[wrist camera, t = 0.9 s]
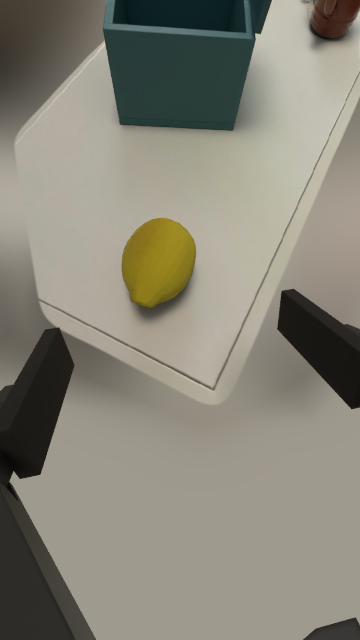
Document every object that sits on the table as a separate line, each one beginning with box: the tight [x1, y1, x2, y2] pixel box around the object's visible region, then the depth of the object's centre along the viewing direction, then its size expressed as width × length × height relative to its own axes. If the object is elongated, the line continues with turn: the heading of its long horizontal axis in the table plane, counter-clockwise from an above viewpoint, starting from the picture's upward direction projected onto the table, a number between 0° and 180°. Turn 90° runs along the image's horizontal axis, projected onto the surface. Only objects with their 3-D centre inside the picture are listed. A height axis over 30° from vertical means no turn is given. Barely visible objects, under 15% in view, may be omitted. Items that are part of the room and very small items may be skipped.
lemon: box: [122, 218, 196, 308], centre depth 28 cm, size 11×8×8 cm
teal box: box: [103, 0, 256, 130], centre depth 35 cm, size 17×15×10 cm
